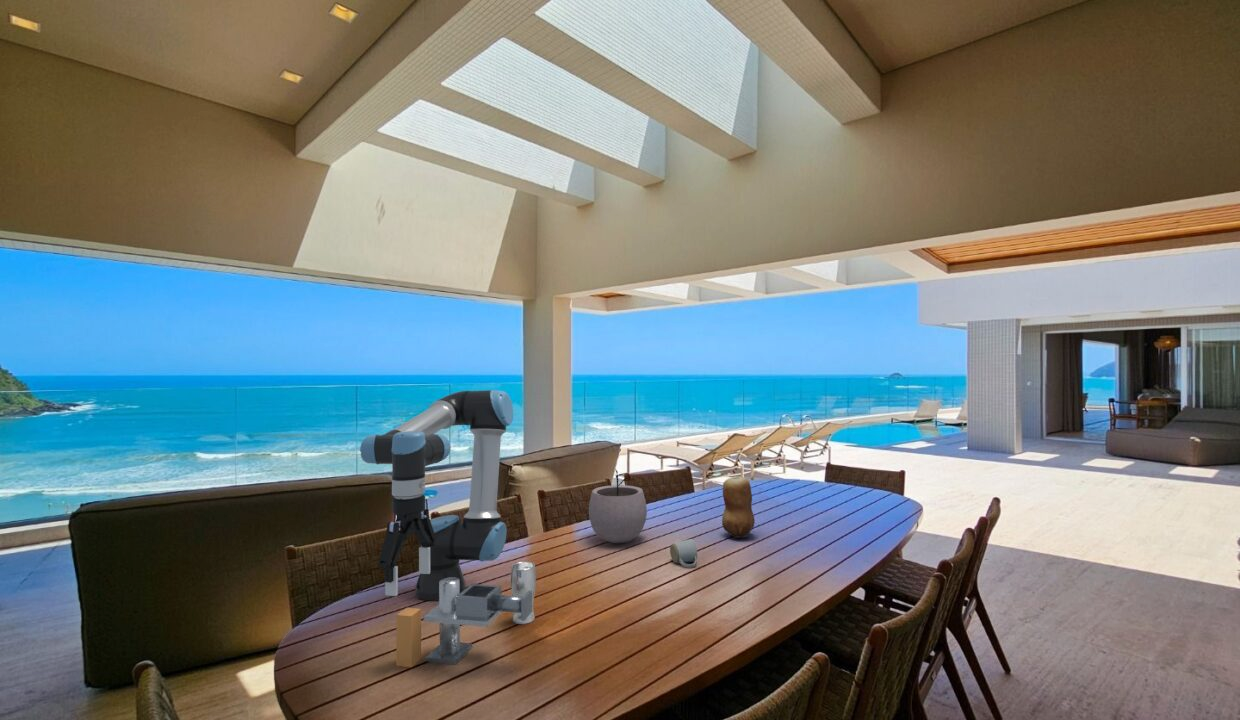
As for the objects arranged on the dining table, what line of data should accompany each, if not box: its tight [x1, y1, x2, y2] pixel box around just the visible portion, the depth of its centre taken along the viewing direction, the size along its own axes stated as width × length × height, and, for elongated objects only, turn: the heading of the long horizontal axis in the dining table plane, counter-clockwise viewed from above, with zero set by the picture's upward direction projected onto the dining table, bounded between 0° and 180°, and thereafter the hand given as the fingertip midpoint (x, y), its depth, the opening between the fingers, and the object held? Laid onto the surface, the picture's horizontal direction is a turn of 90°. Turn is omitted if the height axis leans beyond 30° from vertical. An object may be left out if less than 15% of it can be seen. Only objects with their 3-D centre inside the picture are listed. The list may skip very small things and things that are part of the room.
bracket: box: [456, 583, 532, 621], centre depth 129 cm, size 17×8×5 cm, turn 78°
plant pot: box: [588, 468, 648, 544], centre depth 219 cm, size 24×24×30 cm
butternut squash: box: [721, 476, 755, 539], centre depth 222 cm, size 14×13×25 cm
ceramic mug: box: [669, 538, 698, 569], centre depth 192 cm, size 11×8×8 cm
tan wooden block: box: [395, 607, 422, 668], centre depth 128 cm, size 4×4×12 cm
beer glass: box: [510, 561, 537, 625], centre depth 150 cm, size 7×7×15 cm
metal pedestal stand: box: [423, 577, 502, 665], centre depth 131 cm, size 16×10×18 cm, turn 78°
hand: (409, 583), depth 129 cm, fingers open, 13 cm apart
